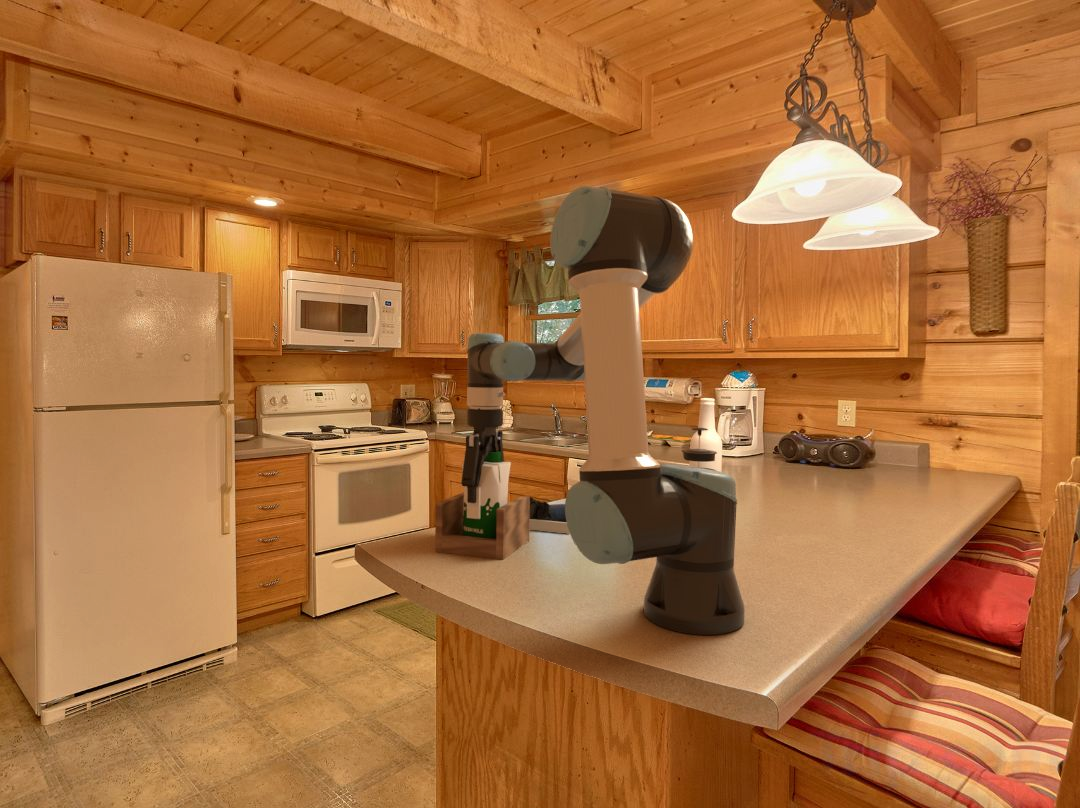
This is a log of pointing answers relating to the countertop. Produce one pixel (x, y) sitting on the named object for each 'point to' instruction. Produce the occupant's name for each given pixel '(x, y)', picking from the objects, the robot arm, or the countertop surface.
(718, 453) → the alcohol
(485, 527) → the milk carton
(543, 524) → the can cradle
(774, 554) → the countertop surface
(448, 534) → the wooden holder
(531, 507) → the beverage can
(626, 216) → the robot arm
